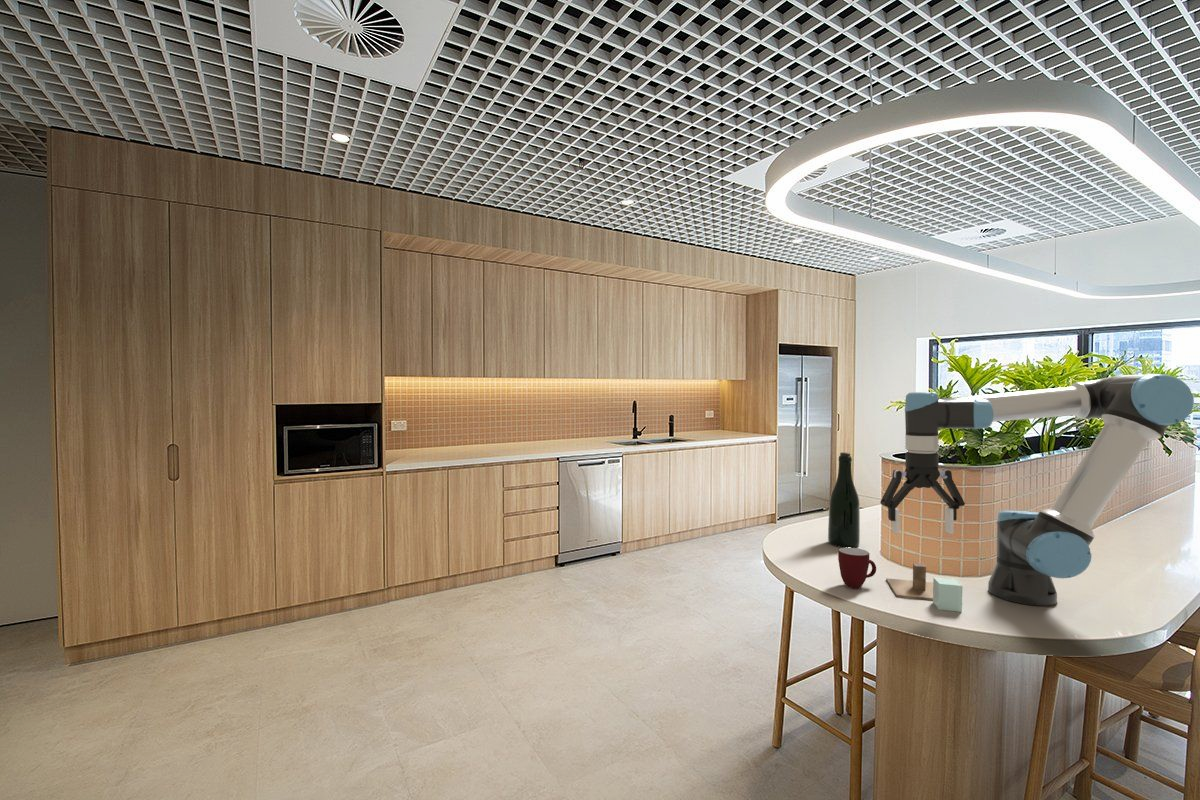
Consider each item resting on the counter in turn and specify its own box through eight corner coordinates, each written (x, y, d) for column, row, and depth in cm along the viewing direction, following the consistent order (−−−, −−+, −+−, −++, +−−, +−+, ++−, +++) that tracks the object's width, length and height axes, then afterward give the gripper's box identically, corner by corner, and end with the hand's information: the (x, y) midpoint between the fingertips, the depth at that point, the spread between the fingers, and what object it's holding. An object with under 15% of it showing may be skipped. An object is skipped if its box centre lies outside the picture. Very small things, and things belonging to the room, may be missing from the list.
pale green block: (955, 604, 151) (955, 579, 151) (961, 611, 146) (962, 585, 146) (933, 602, 152) (933, 577, 152) (938, 609, 147) (939, 583, 147)
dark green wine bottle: (822, 540, 213) (824, 450, 212) (849, 540, 214) (851, 450, 213) (837, 548, 202) (838, 454, 201) (865, 548, 203) (867, 454, 203)
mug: (863, 580, 169) (864, 546, 169) (883, 589, 162) (883, 554, 161) (831, 582, 167) (832, 548, 167) (849, 592, 159) (850, 556, 159)
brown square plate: (939, 585, 166) (940, 560, 166) (955, 602, 152) (956, 575, 152) (886, 580, 170) (886, 555, 169) (896, 596, 156) (897, 570, 156)
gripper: (962, 449, 154) (963, 529, 154) (866, 450, 155) (867, 529, 155) (980, 452, 146) (980, 536, 146) (878, 453, 147) (879, 537, 148)
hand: (922, 533), depth 151 cm, fingers open, 13 cm apart
